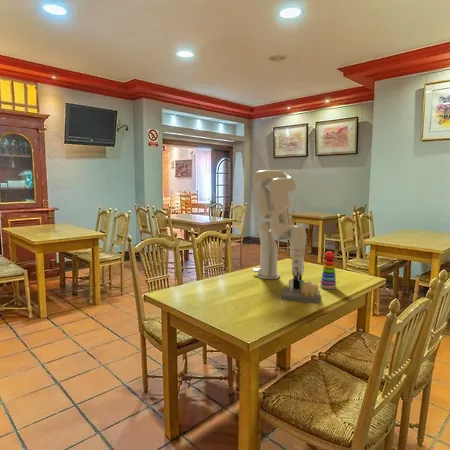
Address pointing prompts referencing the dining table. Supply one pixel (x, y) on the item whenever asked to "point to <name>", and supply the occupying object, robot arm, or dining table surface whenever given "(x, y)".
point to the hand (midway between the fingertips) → (297, 286)
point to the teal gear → (300, 283)
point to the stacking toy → (328, 272)
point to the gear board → (301, 293)
